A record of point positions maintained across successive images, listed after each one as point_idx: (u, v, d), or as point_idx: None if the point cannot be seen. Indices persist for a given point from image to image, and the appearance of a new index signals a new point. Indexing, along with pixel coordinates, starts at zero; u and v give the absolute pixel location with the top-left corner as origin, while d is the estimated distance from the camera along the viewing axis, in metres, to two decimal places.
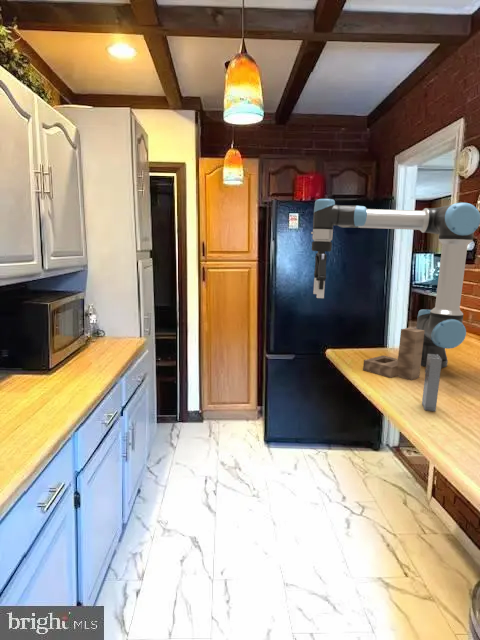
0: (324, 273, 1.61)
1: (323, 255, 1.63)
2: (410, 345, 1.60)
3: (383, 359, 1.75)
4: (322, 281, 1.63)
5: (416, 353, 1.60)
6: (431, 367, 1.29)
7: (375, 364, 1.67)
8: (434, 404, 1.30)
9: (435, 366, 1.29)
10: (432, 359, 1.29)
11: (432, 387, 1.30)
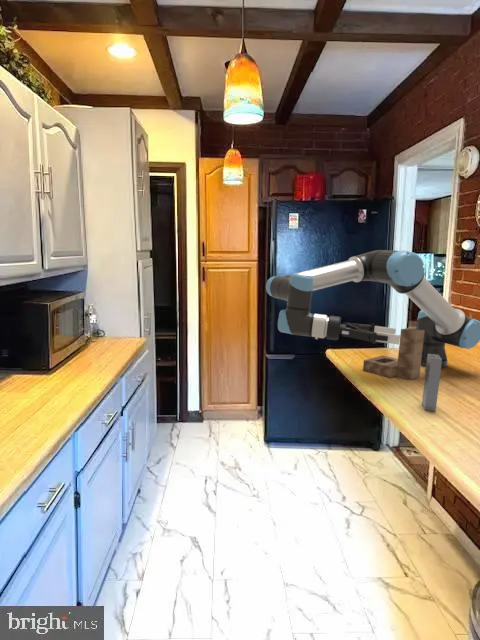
0: (366, 334, 1.27)
1: (343, 331, 1.31)
2: (410, 345, 1.60)
3: (383, 359, 1.75)
4: (377, 336, 1.28)
5: (416, 353, 1.60)
6: (431, 367, 1.29)
7: (375, 364, 1.67)
8: (434, 404, 1.30)
9: (435, 366, 1.29)
10: (432, 359, 1.29)
11: (432, 387, 1.30)
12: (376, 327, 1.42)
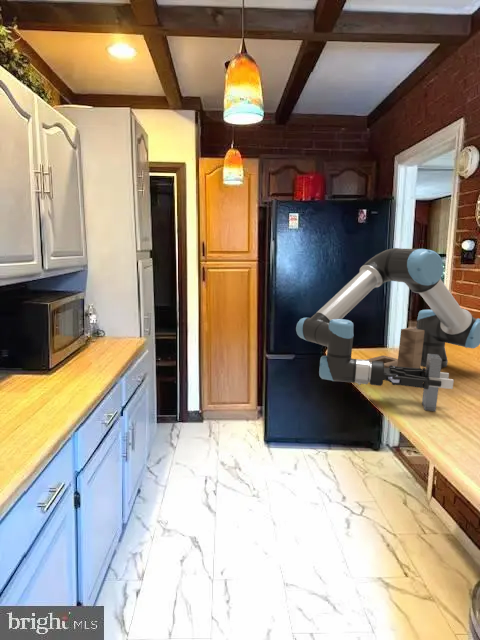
0: (420, 381, 1.27)
1: (394, 380, 1.29)
2: (410, 345, 1.60)
3: (383, 359, 1.75)
4: (430, 382, 1.28)
5: (416, 353, 1.60)
6: (431, 367, 1.29)
7: None
8: (434, 404, 1.30)
9: (435, 366, 1.29)
10: (432, 359, 1.29)
11: (432, 387, 1.30)
12: None
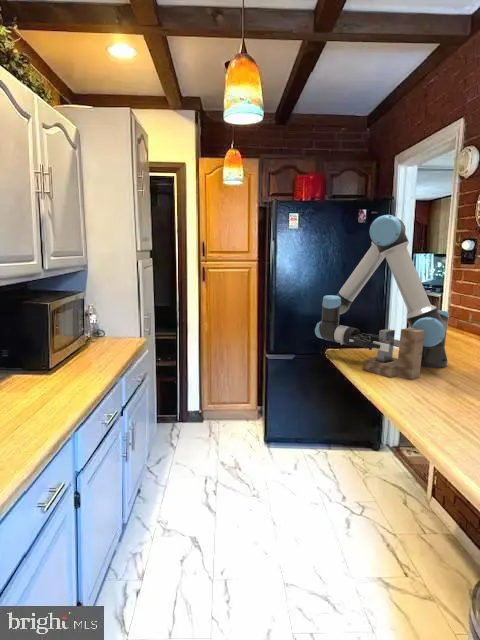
0: (362, 342, 1.69)
1: (350, 339, 1.75)
2: (410, 345, 1.60)
3: None
4: (371, 344, 1.68)
5: (416, 353, 1.60)
6: (379, 337, 1.69)
7: (375, 364, 1.67)
8: None
9: (382, 337, 1.68)
10: (380, 331, 1.69)
11: (380, 353, 1.70)
12: None
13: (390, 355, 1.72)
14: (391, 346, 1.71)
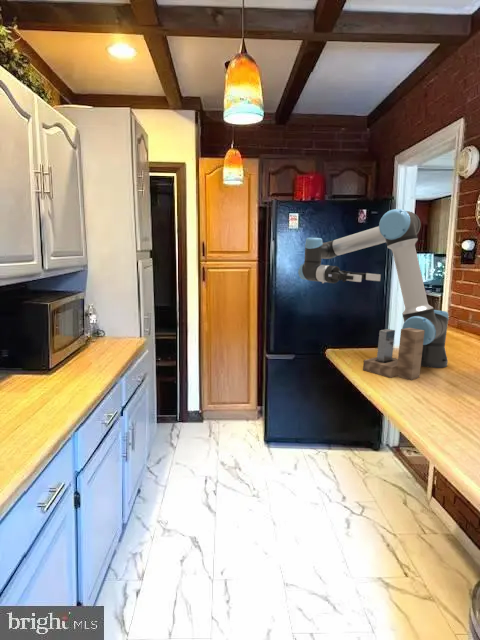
0: (337, 275, 1.79)
1: (329, 274, 1.86)
2: (410, 345, 1.60)
3: None
4: (345, 276, 1.78)
5: (416, 353, 1.60)
6: (379, 337, 1.69)
7: (375, 364, 1.67)
8: None
9: (382, 337, 1.68)
10: (380, 331, 1.69)
11: (380, 353, 1.70)
12: (367, 274, 1.87)
13: (390, 355, 1.72)
14: (391, 346, 1.71)
